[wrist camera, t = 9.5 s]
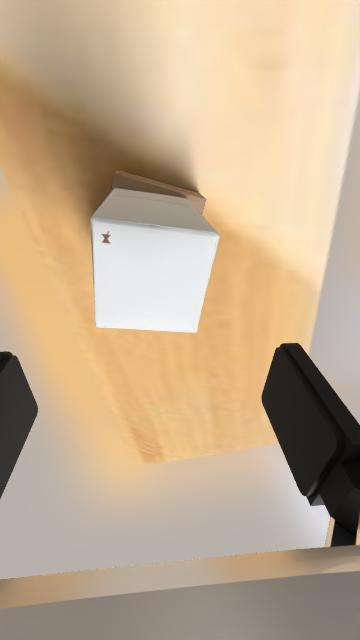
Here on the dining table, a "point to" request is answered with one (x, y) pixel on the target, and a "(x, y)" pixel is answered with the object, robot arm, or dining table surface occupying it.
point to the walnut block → (155, 188)
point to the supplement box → (150, 261)
